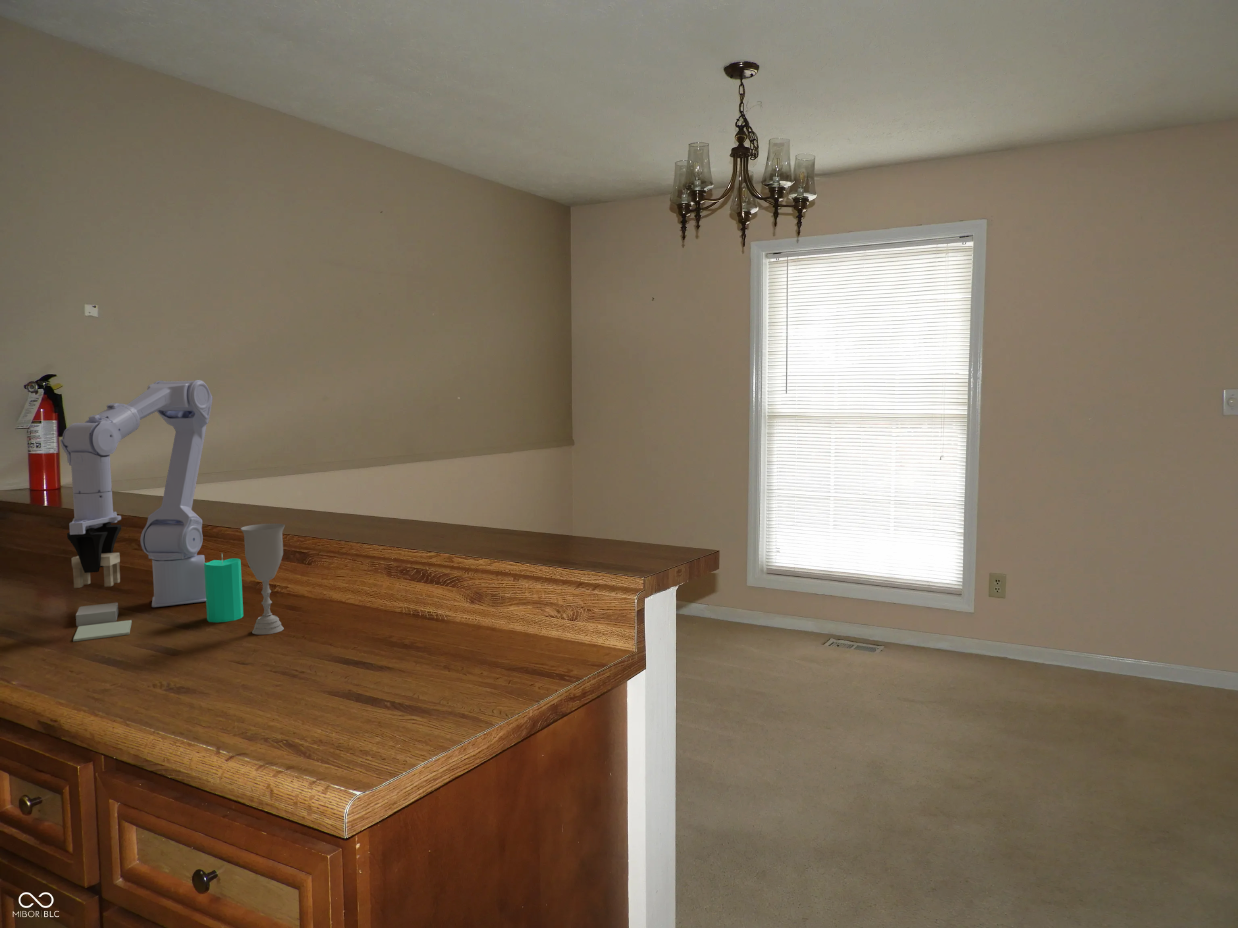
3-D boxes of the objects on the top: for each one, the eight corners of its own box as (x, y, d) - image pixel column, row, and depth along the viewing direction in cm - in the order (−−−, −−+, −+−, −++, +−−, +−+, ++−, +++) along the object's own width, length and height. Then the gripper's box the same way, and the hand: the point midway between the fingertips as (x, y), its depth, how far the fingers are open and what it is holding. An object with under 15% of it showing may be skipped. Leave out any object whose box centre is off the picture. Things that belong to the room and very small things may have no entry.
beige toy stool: (73, 588, 141) (71, 557, 141) (83, 583, 145) (82, 554, 145) (111, 586, 143) (109, 556, 142) (121, 581, 146) (119, 552, 146)
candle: (249, 613, 154) (246, 550, 153) (231, 622, 148) (228, 556, 147) (219, 613, 154) (216, 549, 153) (200, 622, 148) (196, 556, 147)
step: (118, 612, 155) (117, 602, 155) (116, 621, 149) (115, 610, 149) (80, 617, 153) (79, 606, 152) (76, 626, 146) (75, 615, 146)
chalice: (272, 637, 138) (267, 530, 137) (236, 635, 139) (231, 529, 138) (298, 625, 145) (293, 523, 144) (263, 623, 147) (258, 523, 145)
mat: (131, 622, 149) (131, 619, 149) (129, 634, 141) (129, 632, 141) (78, 628, 145) (78, 626, 145) (73, 641, 137) (73, 639, 137)
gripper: (101, 495, 137) (105, 576, 138) (133, 487, 151) (137, 560, 152) (53, 497, 135) (58, 578, 136) (90, 488, 149) (95, 562, 150)
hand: (97, 569), depth 144 cm, fingers closed on beige toy stool, 4 cm apart
